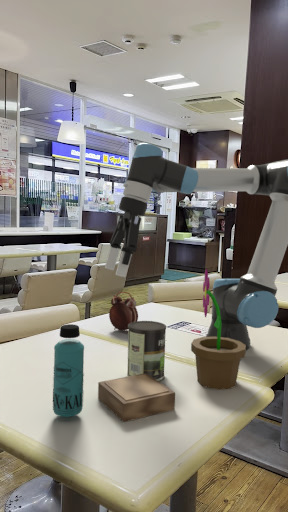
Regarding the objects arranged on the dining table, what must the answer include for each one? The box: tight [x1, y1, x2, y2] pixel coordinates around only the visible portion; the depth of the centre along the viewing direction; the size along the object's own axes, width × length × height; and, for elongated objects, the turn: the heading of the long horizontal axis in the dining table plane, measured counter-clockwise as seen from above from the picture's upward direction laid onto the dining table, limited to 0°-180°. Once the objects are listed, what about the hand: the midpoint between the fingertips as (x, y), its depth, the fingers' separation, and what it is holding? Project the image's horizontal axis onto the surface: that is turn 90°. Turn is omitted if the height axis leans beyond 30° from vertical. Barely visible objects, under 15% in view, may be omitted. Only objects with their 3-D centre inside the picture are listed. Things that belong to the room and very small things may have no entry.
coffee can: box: [126, 320, 167, 382], centre depth 115 cm, size 10×10×14 cm
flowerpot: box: [190, 268, 247, 390], centre depth 112 cm, size 14×14×30 cm
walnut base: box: [97, 373, 176, 423], centre depth 98 cm, size 13×13×4 cm
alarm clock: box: [108, 291, 139, 333], centre depth 159 cm, size 11×5×15 cm, turn 58°
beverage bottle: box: [51, 324, 85, 418], centre depth 90 cm, size 6×7×20 cm
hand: (114, 272), depth 119 cm, fingers open, 13 cm apart
